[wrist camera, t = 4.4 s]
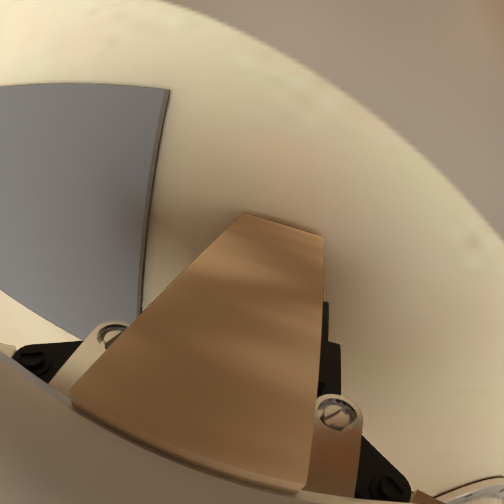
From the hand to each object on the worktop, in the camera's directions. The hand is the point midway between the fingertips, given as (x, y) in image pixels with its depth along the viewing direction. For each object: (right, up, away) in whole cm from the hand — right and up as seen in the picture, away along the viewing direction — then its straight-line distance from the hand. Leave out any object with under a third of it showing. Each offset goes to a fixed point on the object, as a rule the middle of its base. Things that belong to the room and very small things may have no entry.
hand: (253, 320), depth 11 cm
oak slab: (0, +1, +2) cm, 2 cm away
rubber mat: (-12, +4, +3) cm, 13 cm away
